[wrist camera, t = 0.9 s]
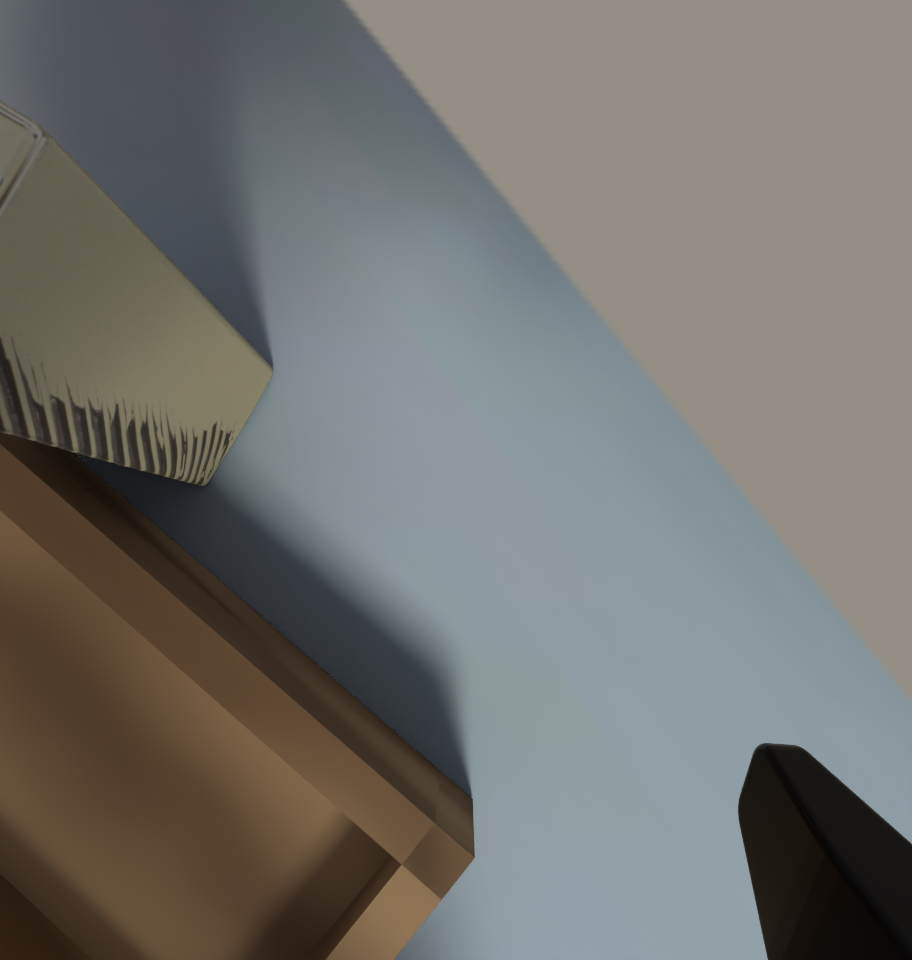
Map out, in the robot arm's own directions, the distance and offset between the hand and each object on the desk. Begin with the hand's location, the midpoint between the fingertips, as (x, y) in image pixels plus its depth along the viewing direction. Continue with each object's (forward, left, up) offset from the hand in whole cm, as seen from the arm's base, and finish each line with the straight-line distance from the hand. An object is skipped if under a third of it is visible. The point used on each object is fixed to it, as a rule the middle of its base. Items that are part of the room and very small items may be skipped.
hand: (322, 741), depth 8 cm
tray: (-8, +6, -14) cm, 17 cm away
